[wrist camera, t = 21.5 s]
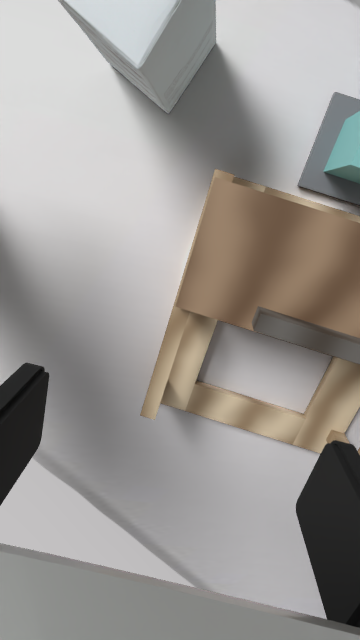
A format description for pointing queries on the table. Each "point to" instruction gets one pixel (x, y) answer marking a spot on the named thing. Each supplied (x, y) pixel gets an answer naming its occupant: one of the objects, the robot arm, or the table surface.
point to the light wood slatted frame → (238, 410)
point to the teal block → (346, 151)
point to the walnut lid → (277, 270)
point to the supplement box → (150, 40)
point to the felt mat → (322, 149)
